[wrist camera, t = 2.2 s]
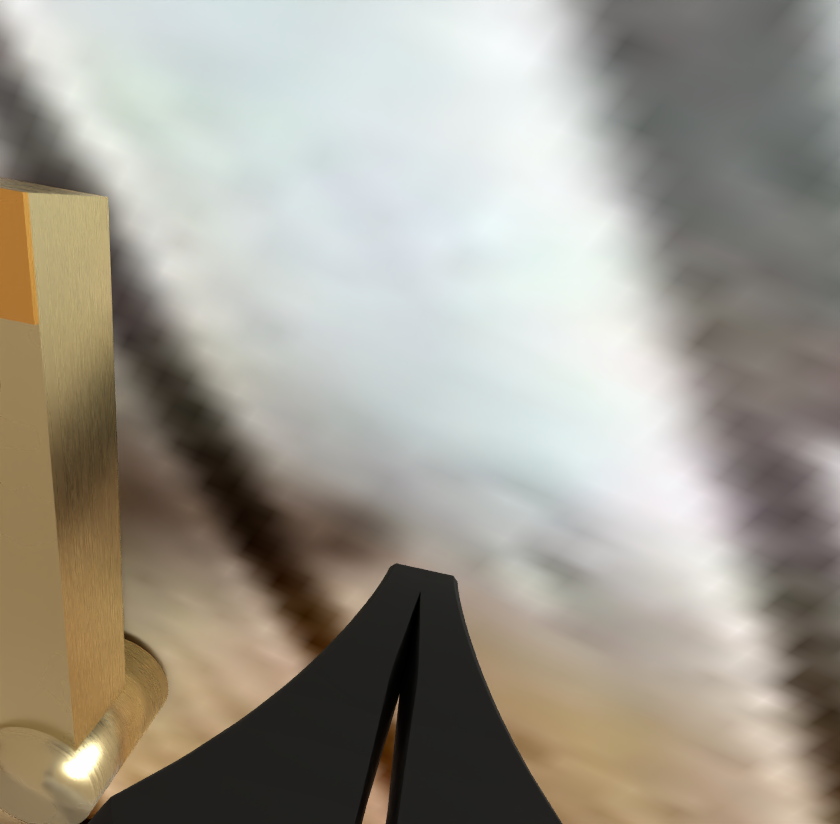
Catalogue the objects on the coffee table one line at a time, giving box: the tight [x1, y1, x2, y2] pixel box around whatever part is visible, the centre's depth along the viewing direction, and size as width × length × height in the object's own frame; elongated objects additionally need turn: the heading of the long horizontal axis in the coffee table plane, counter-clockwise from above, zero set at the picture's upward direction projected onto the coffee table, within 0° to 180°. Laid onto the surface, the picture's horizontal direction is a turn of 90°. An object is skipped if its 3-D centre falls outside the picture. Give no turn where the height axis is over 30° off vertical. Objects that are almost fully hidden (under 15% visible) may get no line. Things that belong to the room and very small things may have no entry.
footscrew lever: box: [0, 178, 168, 824], centre depth 12 cm, size 14×3×3 cm, turn 171°
